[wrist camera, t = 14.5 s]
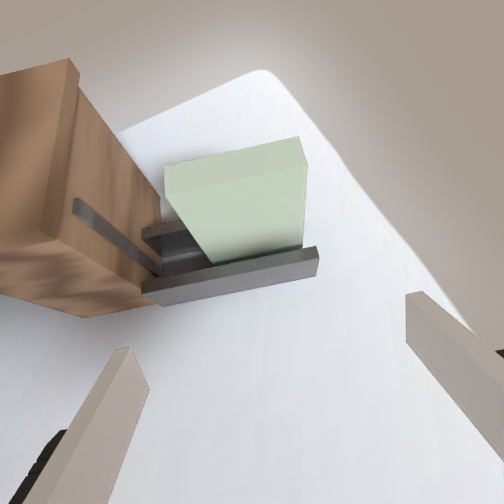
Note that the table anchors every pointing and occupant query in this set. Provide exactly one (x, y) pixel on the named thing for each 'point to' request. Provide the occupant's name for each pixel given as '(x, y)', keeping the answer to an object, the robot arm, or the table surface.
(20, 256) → the walnut cabinet
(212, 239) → the cabinet door
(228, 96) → the table surface
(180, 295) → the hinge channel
